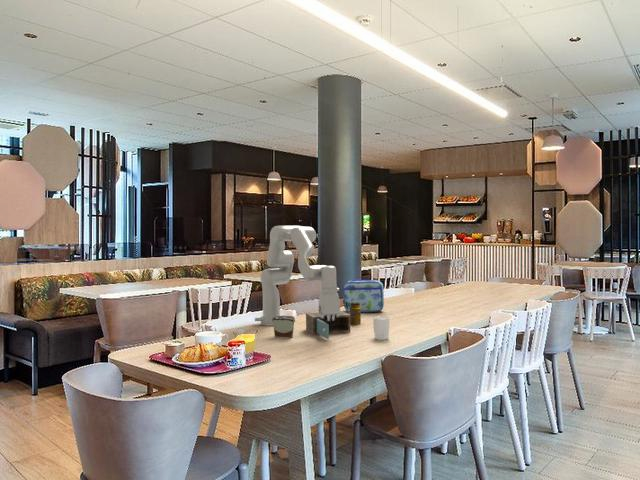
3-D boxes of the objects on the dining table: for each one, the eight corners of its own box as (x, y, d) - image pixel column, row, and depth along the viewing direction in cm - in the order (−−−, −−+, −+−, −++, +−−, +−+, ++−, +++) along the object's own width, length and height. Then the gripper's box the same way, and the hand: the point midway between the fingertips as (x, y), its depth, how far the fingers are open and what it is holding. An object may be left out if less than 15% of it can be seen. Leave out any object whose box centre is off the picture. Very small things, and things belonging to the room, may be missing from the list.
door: (314, 332, 264) (314, 319, 264) (318, 332, 265) (317, 318, 265) (324, 339, 249) (324, 324, 249) (328, 338, 250) (328, 324, 250)
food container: (299, 335, 263) (299, 316, 262) (294, 338, 257) (294, 318, 257) (276, 334, 267) (276, 315, 267) (271, 336, 261) (271, 316, 261)
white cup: (379, 340, 249) (379, 319, 249) (370, 337, 256) (370, 317, 256) (392, 339, 252) (392, 318, 252) (383, 336, 259) (383, 316, 259)
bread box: (313, 334, 264) (313, 317, 264) (306, 329, 278) (305, 313, 278) (350, 332, 270) (350, 314, 270) (341, 327, 284) (341, 310, 283)
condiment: (363, 324, 293) (363, 302, 293) (351, 325, 288) (351, 304, 288) (356, 322, 299) (355, 301, 299) (344, 324, 294) (343, 302, 294)
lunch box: (342, 312, 335) (341, 279, 334) (345, 309, 345) (344, 278, 345) (382, 313, 329) (382, 280, 328) (384, 310, 339) (384, 278, 339)
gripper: (339, 289, 261) (340, 326, 261) (312, 291, 255) (313, 329, 255) (346, 290, 254) (347, 328, 254) (317, 292, 248) (318, 331, 248)
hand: (330, 328), depth 255 cm, fingers closed
